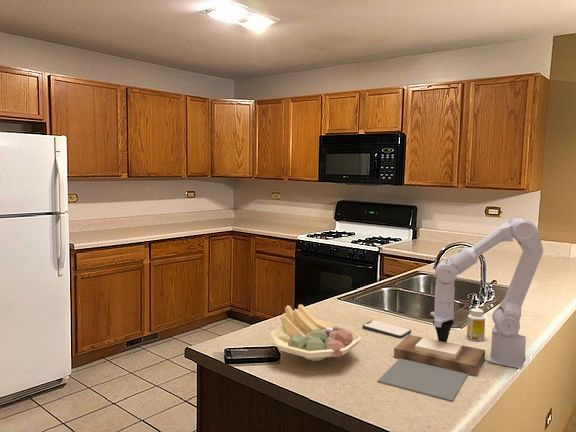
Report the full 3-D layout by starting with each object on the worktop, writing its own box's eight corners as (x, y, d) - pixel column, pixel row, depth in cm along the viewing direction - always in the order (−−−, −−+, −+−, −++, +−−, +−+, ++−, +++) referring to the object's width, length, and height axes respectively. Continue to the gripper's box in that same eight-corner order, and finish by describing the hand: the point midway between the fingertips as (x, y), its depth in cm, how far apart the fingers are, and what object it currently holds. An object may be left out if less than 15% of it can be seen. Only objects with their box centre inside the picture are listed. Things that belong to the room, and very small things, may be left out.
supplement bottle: (487, 339, 160) (489, 310, 159) (476, 342, 157) (478, 313, 156) (474, 334, 165) (475, 306, 164) (463, 337, 162) (464, 308, 161)
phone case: (412, 334, 167) (373, 323, 177) (412, 329, 167) (373, 319, 177) (400, 340, 160) (360, 329, 171) (401, 336, 160) (361, 325, 170)
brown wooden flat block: (484, 359, 143) (485, 350, 143) (475, 376, 132) (476, 366, 131) (408, 343, 156) (408, 334, 156) (393, 357, 145) (394, 348, 144)
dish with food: (290, 332, 164) (290, 293, 161) (369, 345, 153) (370, 304, 151) (254, 368, 138) (253, 323, 136) (346, 387, 127) (346, 338, 125)
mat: (467, 375, 132) (467, 373, 132) (452, 401, 117) (452, 400, 117) (399, 359, 143) (399, 358, 143) (377, 381, 128) (377, 380, 128)
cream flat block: (461, 350, 143) (461, 345, 143) (455, 359, 136) (455, 354, 136) (422, 342, 149) (422, 337, 149) (414, 350, 143) (414, 345, 142)
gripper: (437, 293, 153) (436, 333, 155) (424, 304, 141) (423, 347, 143) (460, 297, 150) (458, 337, 151) (448, 308, 138) (446, 352, 139)
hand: (442, 342), depth 147 cm, fingers closed
